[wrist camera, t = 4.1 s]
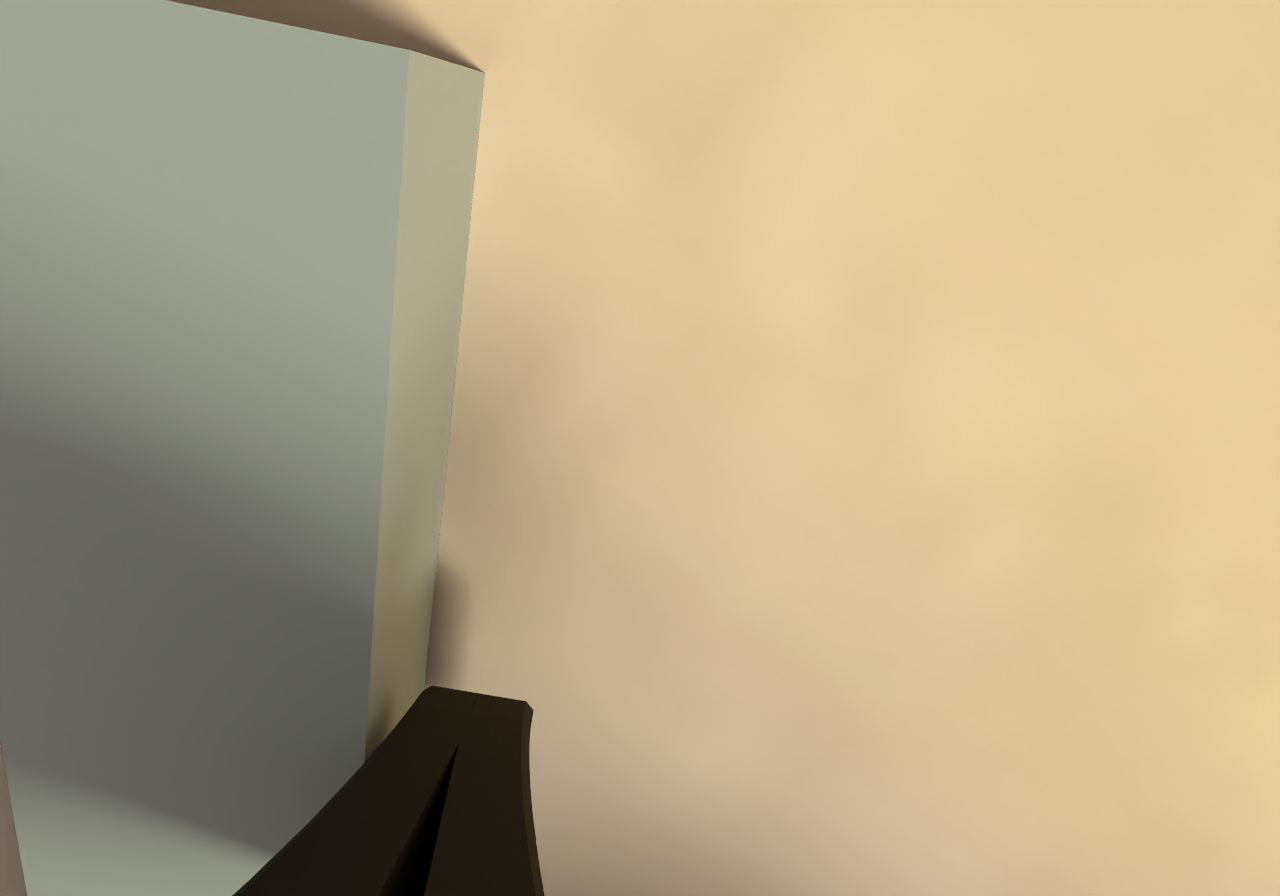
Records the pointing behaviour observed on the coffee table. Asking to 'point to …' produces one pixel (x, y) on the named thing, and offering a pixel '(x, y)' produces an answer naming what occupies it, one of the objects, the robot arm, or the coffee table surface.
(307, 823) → the robot arm
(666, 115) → the coffee table surface
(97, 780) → the slat
